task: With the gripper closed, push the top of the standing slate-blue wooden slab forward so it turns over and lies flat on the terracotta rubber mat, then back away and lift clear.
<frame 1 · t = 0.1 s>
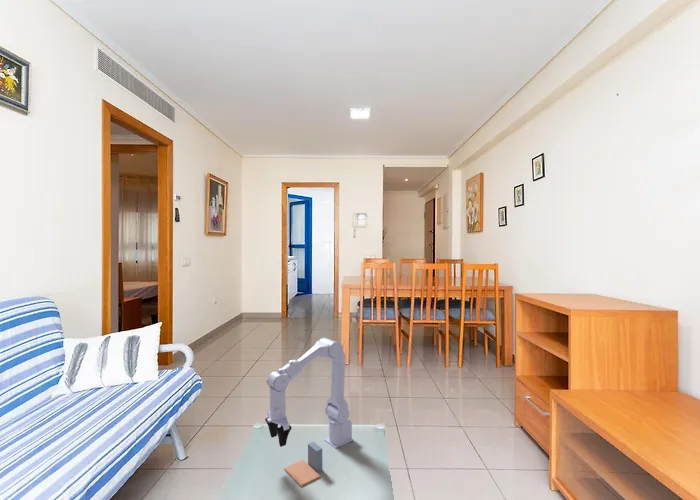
hand: (278, 440, 134), 10 cm above the table, fingers open, 7 cm apart
slab: (315, 467, 134), on the table
mat: (301, 473, 131), on the table
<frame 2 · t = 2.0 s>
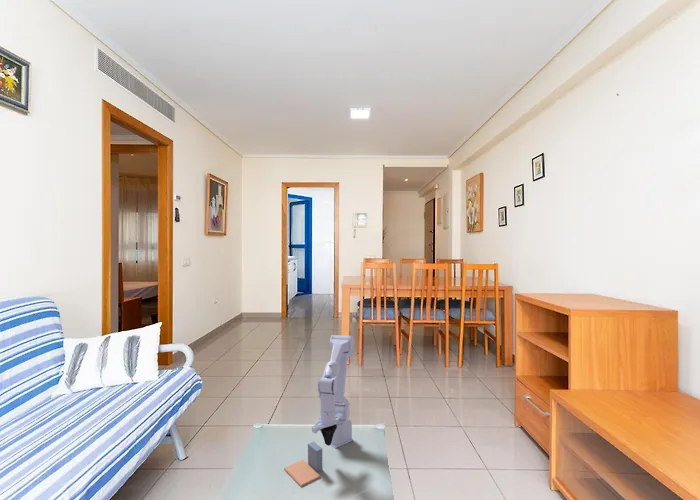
hand: (328, 444, 138), 7 cm above the table, fingers closed
nothing on the table moved.
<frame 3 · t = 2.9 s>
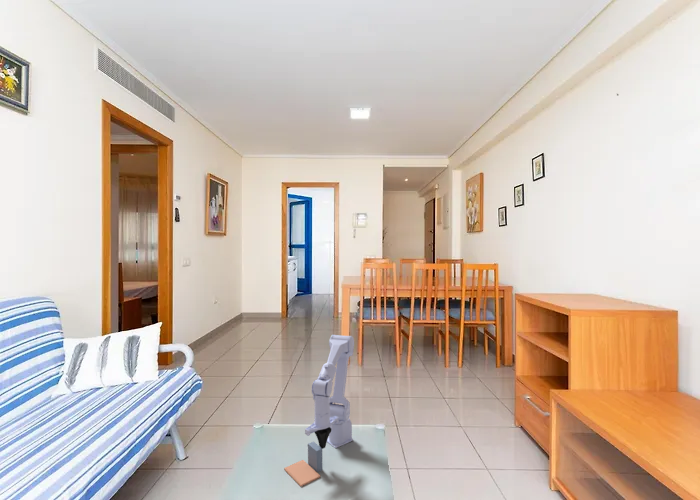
hand: (322, 447, 136), 6 cm above the table, fingers closed
nothing on the table moved.
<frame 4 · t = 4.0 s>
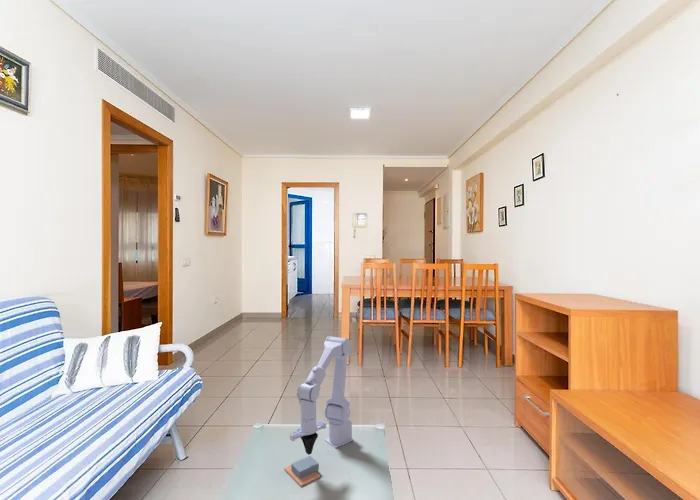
hand: (308, 452, 132), 6 cm above the table, fingers closed
slab: (314, 462, 134), point 2 cm above the table, tilted 90°, touching mat
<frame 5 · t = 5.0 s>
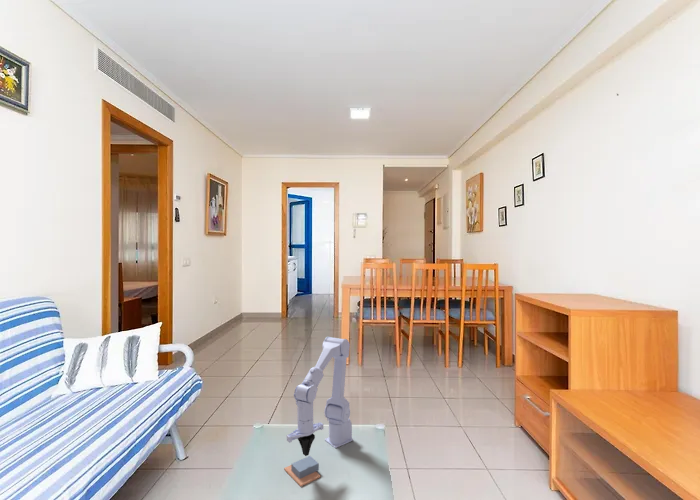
hand: (305, 454, 132), 6 cm above the table, fingers closed
nothing on the table moved.
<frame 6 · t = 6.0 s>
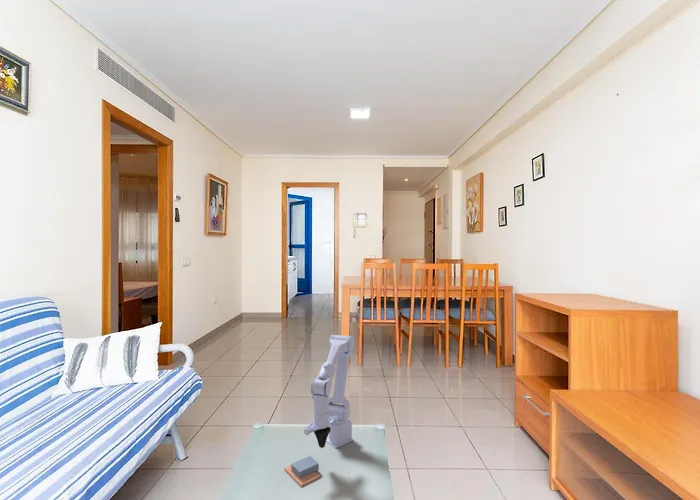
hand: (321, 446, 136), 7 cm above the table, fingers closed
nothing on the table moved.
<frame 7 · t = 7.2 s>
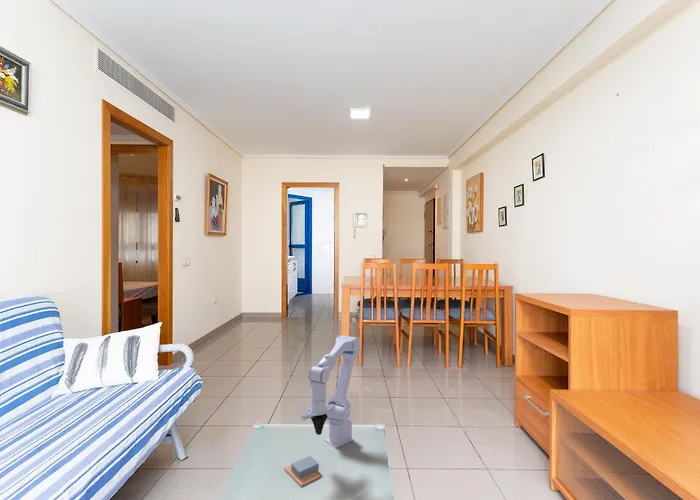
hand: (318, 433, 138), 10 cm above the table, fingers closed
nothing on the table moved.
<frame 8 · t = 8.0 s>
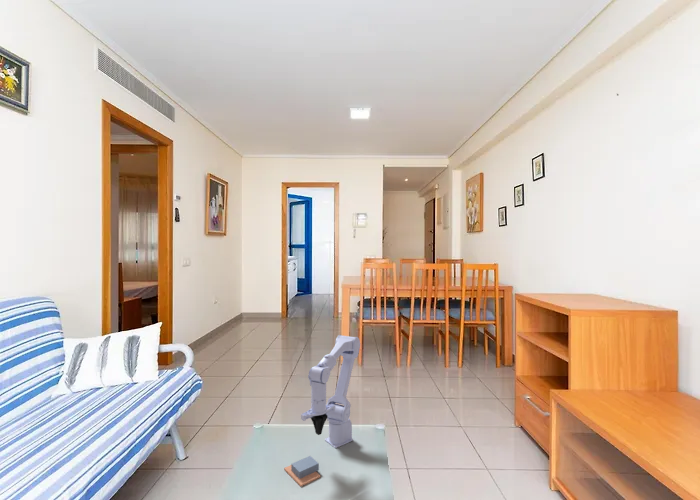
hand: (318, 433, 138), 10 cm above the table, fingers closed
nothing on the table moved.
at the end: slab tilted 90°; slab touching mat; slab inside the target area (2.1 cm from its centre), point 1.8 cm above the table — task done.
